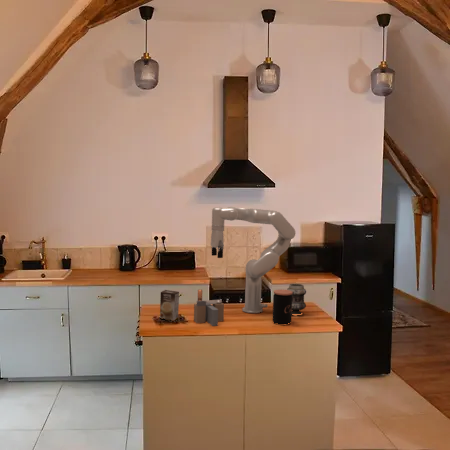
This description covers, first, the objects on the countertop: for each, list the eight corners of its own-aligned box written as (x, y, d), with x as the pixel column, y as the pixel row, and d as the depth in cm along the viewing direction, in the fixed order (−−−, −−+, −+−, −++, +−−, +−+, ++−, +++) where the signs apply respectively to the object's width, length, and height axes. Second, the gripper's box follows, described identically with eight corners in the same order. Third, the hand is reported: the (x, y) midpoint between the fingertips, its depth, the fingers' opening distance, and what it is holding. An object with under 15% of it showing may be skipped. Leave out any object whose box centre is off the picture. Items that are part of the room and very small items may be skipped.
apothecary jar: (298, 310, 316) (300, 282, 314) (309, 316, 305) (310, 286, 303) (281, 312, 311) (282, 283, 309) (291, 317, 300) (293, 287, 298)
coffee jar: (286, 326, 281) (287, 294, 279) (268, 323, 287) (270, 291, 285) (294, 322, 290) (295, 291, 288) (277, 319, 296) (278, 288, 294)
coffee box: (159, 320, 287) (159, 291, 285) (164, 317, 293) (164, 289, 291) (174, 322, 284) (174, 293, 282) (178, 319, 290) (179, 291, 288)
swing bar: (220, 301, 291) (220, 288, 290) (222, 303, 288) (222, 289, 287) (196, 303, 286) (196, 289, 285) (198, 305, 283) (198, 290, 282)
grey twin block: (215, 315, 300) (216, 294, 299) (228, 324, 281) (229, 302, 280) (189, 317, 294) (190, 296, 293) (201, 327, 275) (201, 304, 274)
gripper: (207, 226, 311) (206, 254, 313) (217, 229, 295) (216, 259, 297) (218, 226, 314) (217, 254, 316) (229, 229, 298) (228, 258, 300)
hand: (217, 256), depth 306 cm, fingers open, 9 cm apart
